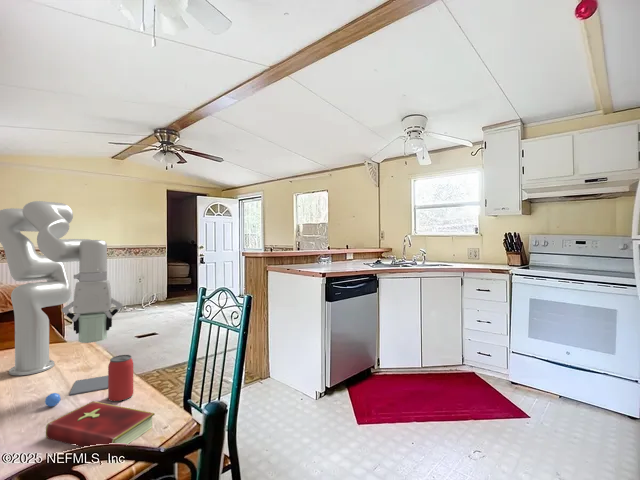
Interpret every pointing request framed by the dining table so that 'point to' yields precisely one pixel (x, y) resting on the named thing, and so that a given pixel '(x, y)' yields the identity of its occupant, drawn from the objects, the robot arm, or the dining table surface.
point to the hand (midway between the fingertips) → (93, 330)
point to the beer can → (120, 378)
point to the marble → (52, 399)
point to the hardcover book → (99, 425)
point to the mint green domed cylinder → (92, 327)
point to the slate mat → (90, 385)
